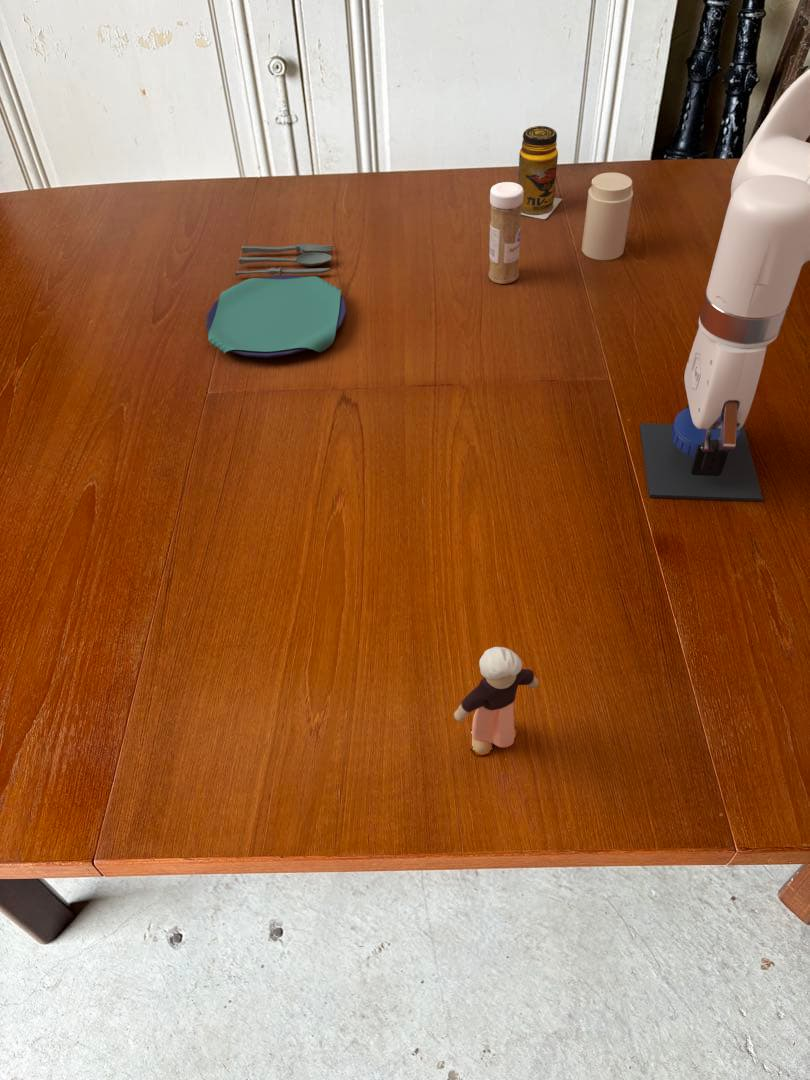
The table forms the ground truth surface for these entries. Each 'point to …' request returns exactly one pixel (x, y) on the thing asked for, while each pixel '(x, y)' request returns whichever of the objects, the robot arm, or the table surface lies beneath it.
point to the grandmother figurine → (495, 699)
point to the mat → (675, 480)
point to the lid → (691, 433)
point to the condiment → (538, 171)
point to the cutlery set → (278, 307)
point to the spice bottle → (505, 231)
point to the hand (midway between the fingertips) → (700, 449)
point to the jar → (607, 216)
